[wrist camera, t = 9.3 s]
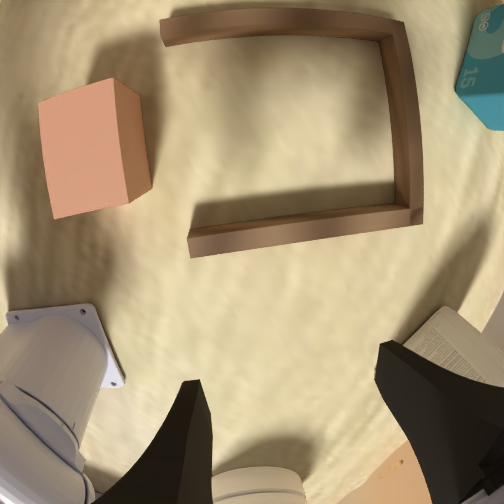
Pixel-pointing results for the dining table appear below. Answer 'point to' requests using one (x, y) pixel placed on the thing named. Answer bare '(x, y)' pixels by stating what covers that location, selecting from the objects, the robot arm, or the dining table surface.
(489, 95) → the data package
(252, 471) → the honey pot
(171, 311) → the dining table surface
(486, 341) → the white rounded slab
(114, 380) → the robot arm
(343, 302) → the dining table surface
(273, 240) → the frame
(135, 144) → the block
